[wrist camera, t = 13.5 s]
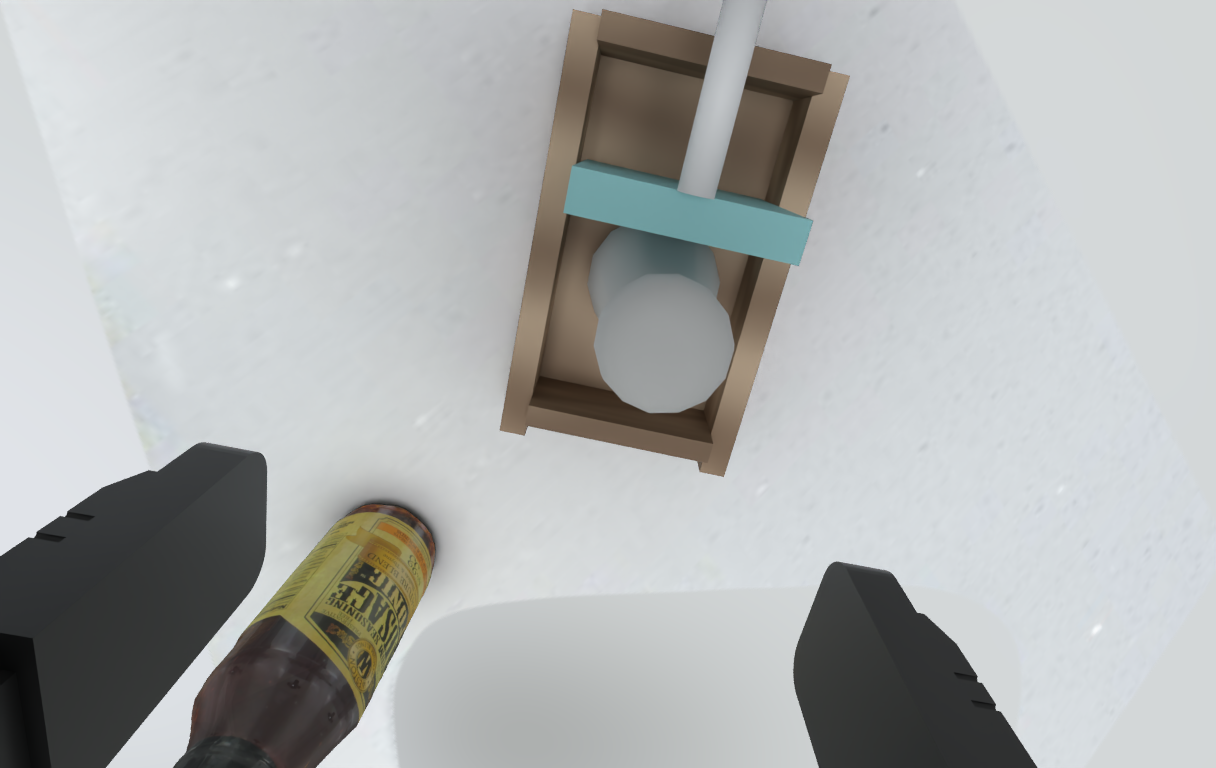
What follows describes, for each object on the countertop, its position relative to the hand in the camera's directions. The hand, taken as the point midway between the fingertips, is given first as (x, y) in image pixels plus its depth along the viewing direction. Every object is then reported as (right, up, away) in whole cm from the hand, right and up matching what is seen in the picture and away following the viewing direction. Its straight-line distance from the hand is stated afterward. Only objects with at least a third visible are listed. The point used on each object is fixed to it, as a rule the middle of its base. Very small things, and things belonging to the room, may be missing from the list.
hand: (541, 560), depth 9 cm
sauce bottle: (-12, -7, +29) cm, 32 cm away
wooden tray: (+3, +9, +23) cm, 25 cm away
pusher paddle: (+4, +14, +19) cm, 24 cm away
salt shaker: (+3, +8, +22) cm, 24 cm away
